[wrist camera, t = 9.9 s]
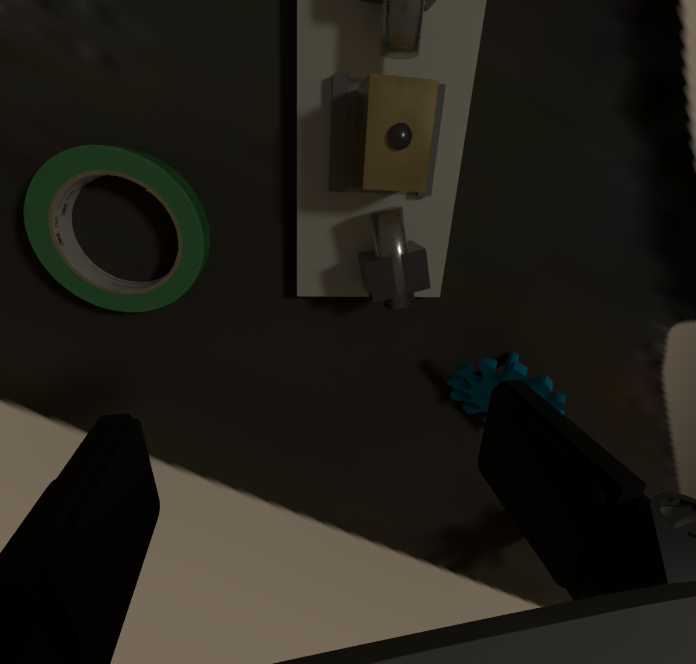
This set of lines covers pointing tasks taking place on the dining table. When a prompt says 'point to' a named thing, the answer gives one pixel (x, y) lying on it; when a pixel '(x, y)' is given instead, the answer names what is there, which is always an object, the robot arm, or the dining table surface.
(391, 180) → the tan box with knob
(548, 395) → the dark teal lobed piece
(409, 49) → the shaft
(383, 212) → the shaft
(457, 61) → the mounting base plate
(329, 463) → the dining table surface
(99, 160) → the tape roll
